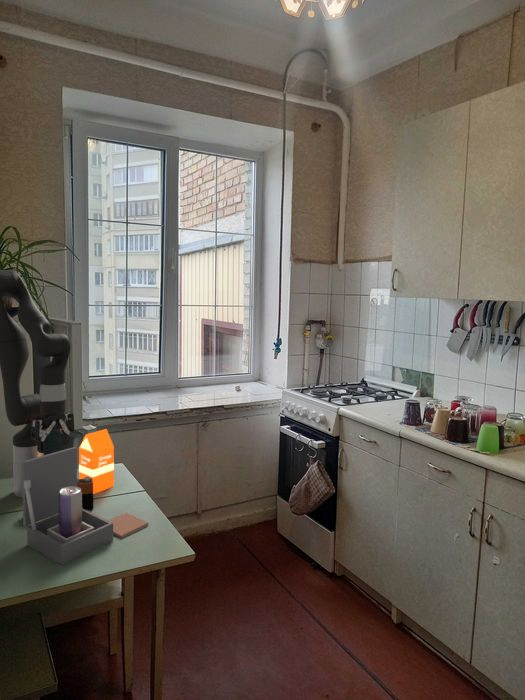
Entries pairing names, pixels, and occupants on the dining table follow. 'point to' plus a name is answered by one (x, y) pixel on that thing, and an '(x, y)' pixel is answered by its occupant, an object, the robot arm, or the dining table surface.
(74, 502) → the beverage can
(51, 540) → the equipment case
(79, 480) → the battery
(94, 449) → the orange juice
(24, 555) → the dining table surface
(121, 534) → the mat
